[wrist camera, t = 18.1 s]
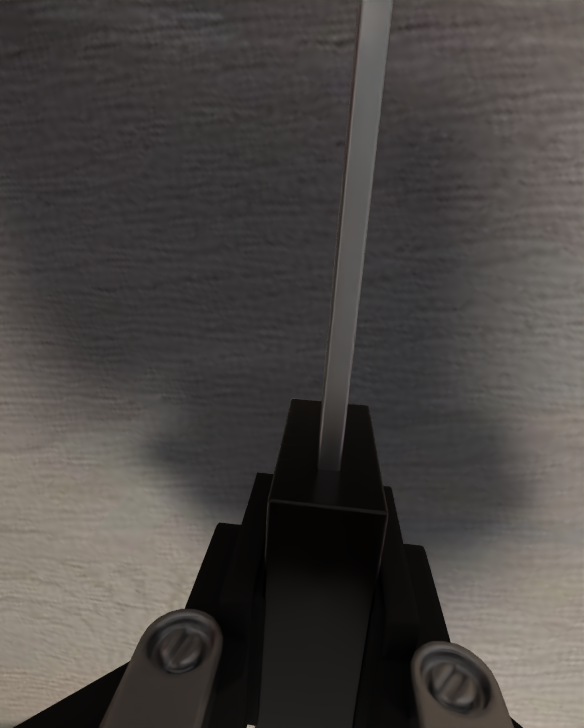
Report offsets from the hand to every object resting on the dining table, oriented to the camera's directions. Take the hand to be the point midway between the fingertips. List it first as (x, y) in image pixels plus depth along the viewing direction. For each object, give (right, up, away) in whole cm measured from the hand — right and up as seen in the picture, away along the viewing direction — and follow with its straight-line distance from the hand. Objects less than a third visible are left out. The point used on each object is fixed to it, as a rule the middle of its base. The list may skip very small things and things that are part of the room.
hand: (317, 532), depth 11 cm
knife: (0, +5, -1) cm, 5 cm away
